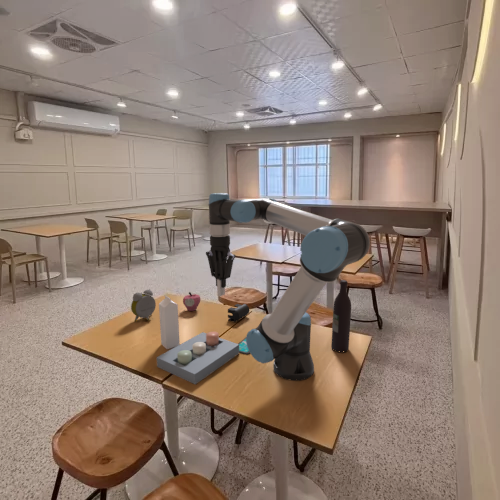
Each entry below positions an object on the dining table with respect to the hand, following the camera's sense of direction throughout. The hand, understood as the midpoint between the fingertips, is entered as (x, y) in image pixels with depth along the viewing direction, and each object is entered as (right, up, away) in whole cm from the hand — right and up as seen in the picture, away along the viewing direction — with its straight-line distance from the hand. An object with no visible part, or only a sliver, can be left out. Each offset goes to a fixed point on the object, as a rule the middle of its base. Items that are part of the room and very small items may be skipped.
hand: (221, 294), depth 131 cm
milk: (-23, -24, +15) cm, 37 cm away
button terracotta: (-4, -21, +9) cm, 24 cm away
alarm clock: (-42, -18, +42) cm, 62 cm away
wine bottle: (+49, -25, +12) cm, 56 cm away
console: (-9, -26, +3) cm, 28 cm away
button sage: (-13, -25, -4) cm, 29 cm away
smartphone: (+10, -24, +15) cm, 31 cm away
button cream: (-9, -24, +3) cm, 26 cm away
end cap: (+5, -18, +42) cm, 46 cm away
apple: (-21, -16, +54) cm, 60 cm away
